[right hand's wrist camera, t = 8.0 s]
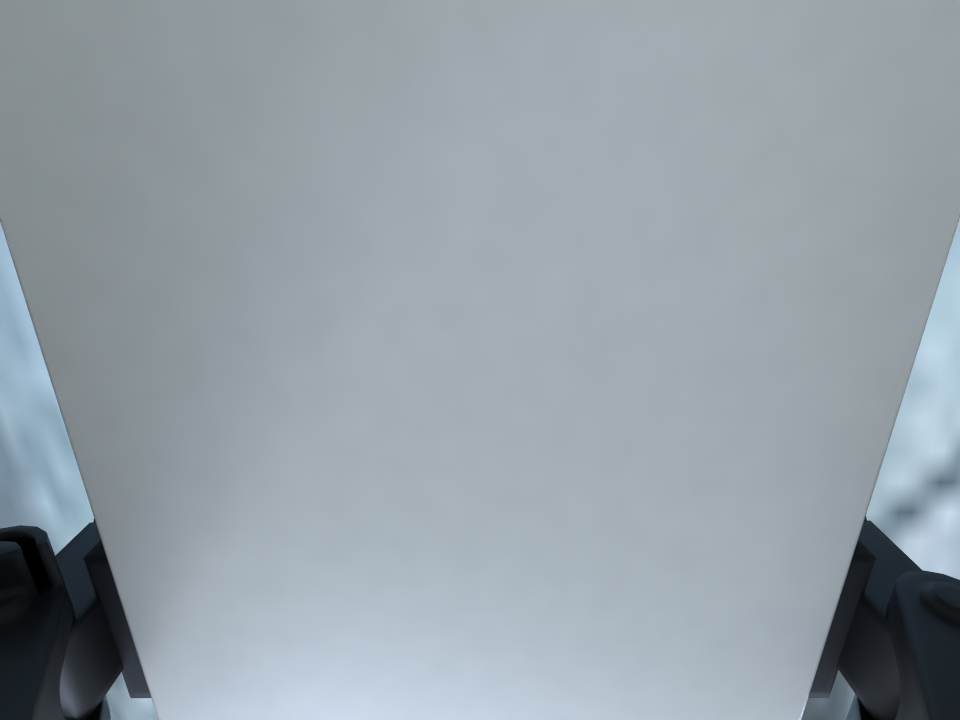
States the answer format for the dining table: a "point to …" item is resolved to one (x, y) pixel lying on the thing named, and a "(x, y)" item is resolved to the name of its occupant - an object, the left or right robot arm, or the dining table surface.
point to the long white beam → (479, 334)
